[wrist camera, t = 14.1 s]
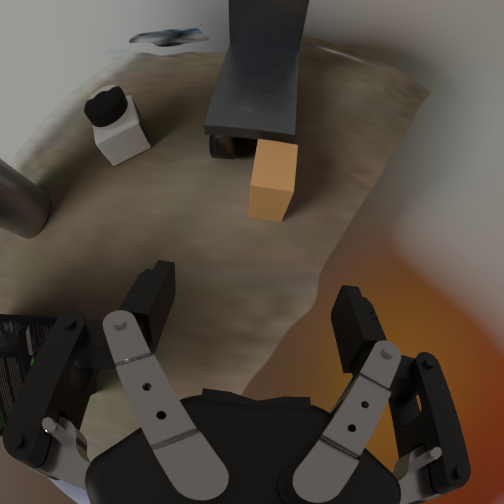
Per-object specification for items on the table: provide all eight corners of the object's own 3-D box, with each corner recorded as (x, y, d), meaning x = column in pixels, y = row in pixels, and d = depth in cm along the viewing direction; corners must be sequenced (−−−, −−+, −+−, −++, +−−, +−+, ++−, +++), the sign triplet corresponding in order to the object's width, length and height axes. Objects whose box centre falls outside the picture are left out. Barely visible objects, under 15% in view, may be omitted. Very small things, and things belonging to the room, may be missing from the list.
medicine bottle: (152, 148, 39) (128, 99, 28) (113, 167, 39) (80, 125, 27) (142, 119, 41) (120, 72, 29) (107, 137, 40) (77, 95, 28)
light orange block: (248, 217, 37) (250, 185, 28) (254, 178, 39) (258, 138, 29) (281, 221, 37) (293, 191, 28) (285, 183, 39) (297, 145, 29)
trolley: (206, 167, 39) (171, 10, 13) (231, 72, 43) (227, -47, 18) (287, 176, 39) (335, 22, 13) (294, 79, 43) (319, -38, 18)
